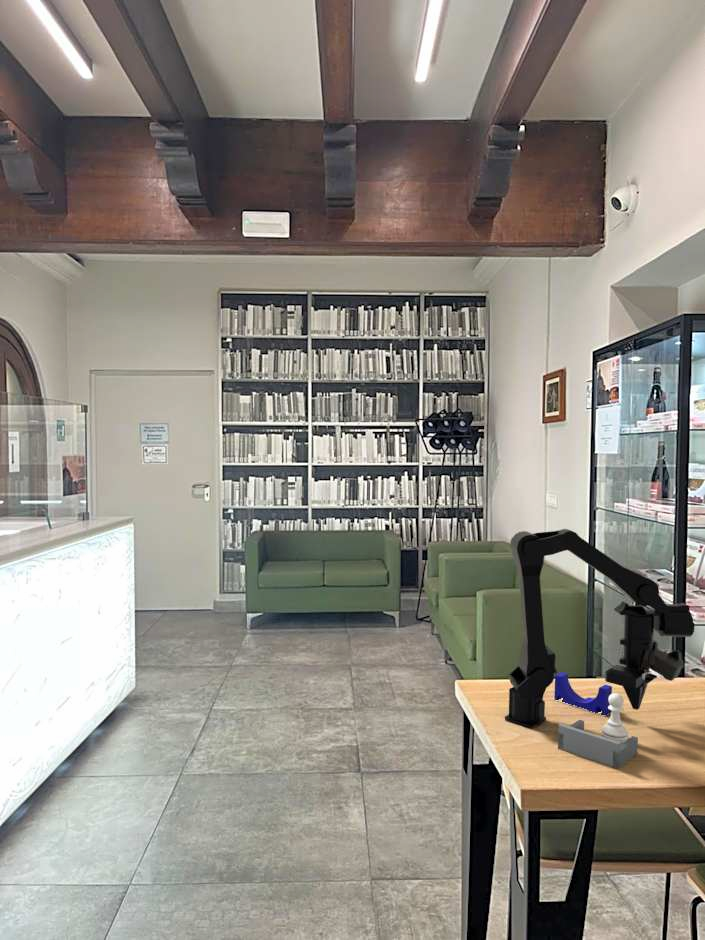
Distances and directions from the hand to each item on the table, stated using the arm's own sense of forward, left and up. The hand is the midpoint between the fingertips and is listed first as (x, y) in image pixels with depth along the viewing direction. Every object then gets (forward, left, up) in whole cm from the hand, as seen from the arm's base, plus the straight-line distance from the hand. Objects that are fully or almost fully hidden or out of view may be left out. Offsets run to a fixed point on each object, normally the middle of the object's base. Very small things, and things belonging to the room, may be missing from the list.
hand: (636, 708), depth 142 cm
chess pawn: (0, -11, -3) cm, 11 cm away
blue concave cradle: (-12, +1, -3) cm, 13 cm away
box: (0, -19, -3) cm, 19 cm away
